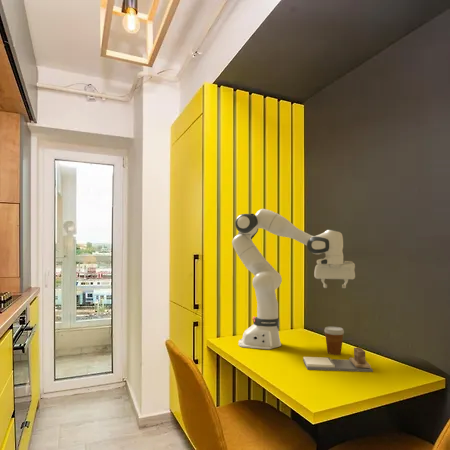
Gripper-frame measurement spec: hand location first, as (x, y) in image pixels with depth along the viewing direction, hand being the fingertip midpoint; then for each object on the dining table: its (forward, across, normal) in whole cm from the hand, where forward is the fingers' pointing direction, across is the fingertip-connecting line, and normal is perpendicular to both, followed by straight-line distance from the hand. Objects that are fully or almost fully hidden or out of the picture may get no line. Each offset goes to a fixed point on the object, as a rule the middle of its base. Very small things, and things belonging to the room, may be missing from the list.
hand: (334, 287), depth 183 cm
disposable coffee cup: (+31, +2, +7) cm, 32 cm away
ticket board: (+31, +6, +26) cm, 41 cm away
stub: (+30, -4, +26) cm, 40 cm away
